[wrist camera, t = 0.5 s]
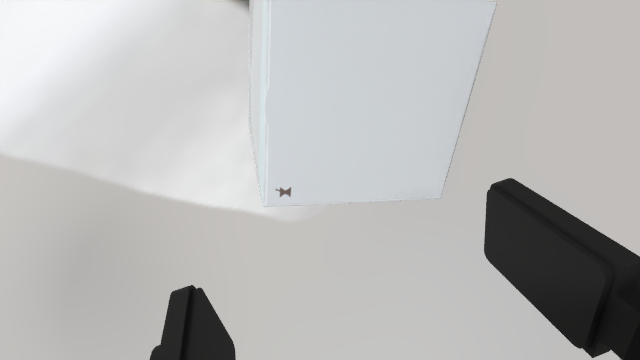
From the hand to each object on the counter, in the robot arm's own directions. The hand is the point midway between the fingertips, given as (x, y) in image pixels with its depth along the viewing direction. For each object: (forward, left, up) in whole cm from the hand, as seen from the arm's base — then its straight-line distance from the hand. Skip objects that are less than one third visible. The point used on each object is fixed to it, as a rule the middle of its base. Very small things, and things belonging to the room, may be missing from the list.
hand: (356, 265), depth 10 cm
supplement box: (-1, +5, -28) cm, 29 cm away
